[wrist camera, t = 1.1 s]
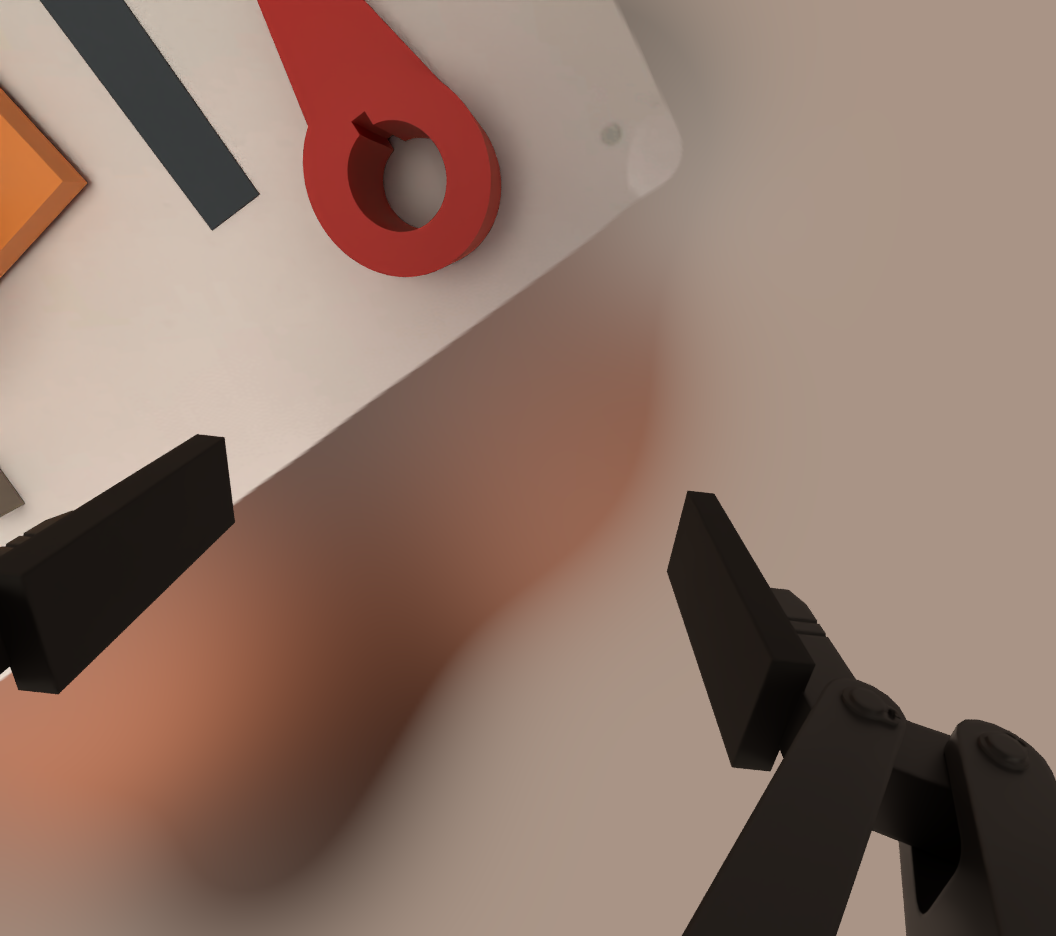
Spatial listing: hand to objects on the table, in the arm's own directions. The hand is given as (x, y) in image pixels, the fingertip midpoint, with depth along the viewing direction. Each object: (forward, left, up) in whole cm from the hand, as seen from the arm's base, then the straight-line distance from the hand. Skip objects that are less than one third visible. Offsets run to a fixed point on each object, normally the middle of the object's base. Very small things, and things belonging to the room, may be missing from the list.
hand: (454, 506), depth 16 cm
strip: (+11, -23, -24) cm, 35 cm away
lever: (0, -15, -24) cm, 28 cm away
